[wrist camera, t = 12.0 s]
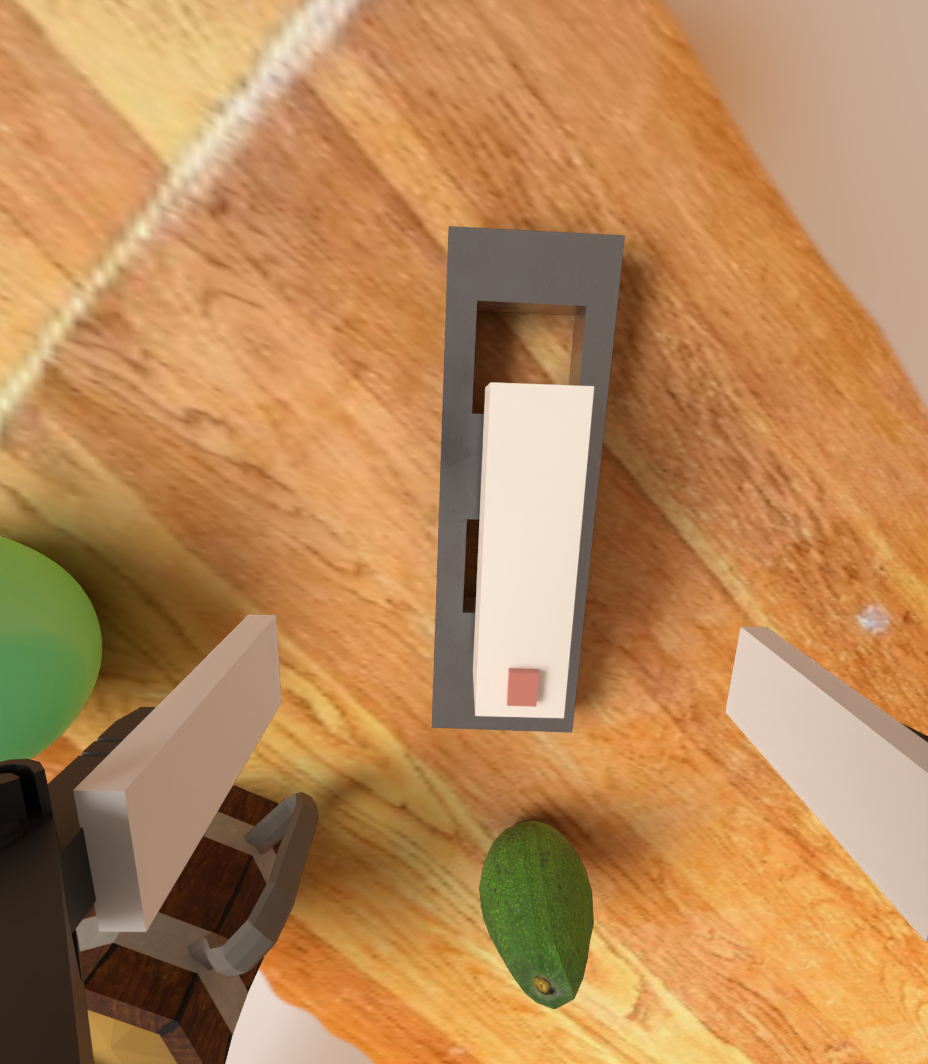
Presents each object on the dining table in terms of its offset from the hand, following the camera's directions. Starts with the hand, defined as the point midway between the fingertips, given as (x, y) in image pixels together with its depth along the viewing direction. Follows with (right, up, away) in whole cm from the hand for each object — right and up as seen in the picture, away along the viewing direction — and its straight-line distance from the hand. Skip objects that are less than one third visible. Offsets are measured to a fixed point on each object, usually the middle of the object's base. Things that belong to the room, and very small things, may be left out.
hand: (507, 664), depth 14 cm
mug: (-19, -20, +27) cm, 39 cm away
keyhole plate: (+2, +6, +21) cm, 22 cm away
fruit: (+4, -21, +28) cm, 35 cm away
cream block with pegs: (+2, +4, +21) cm, 22 cm away
